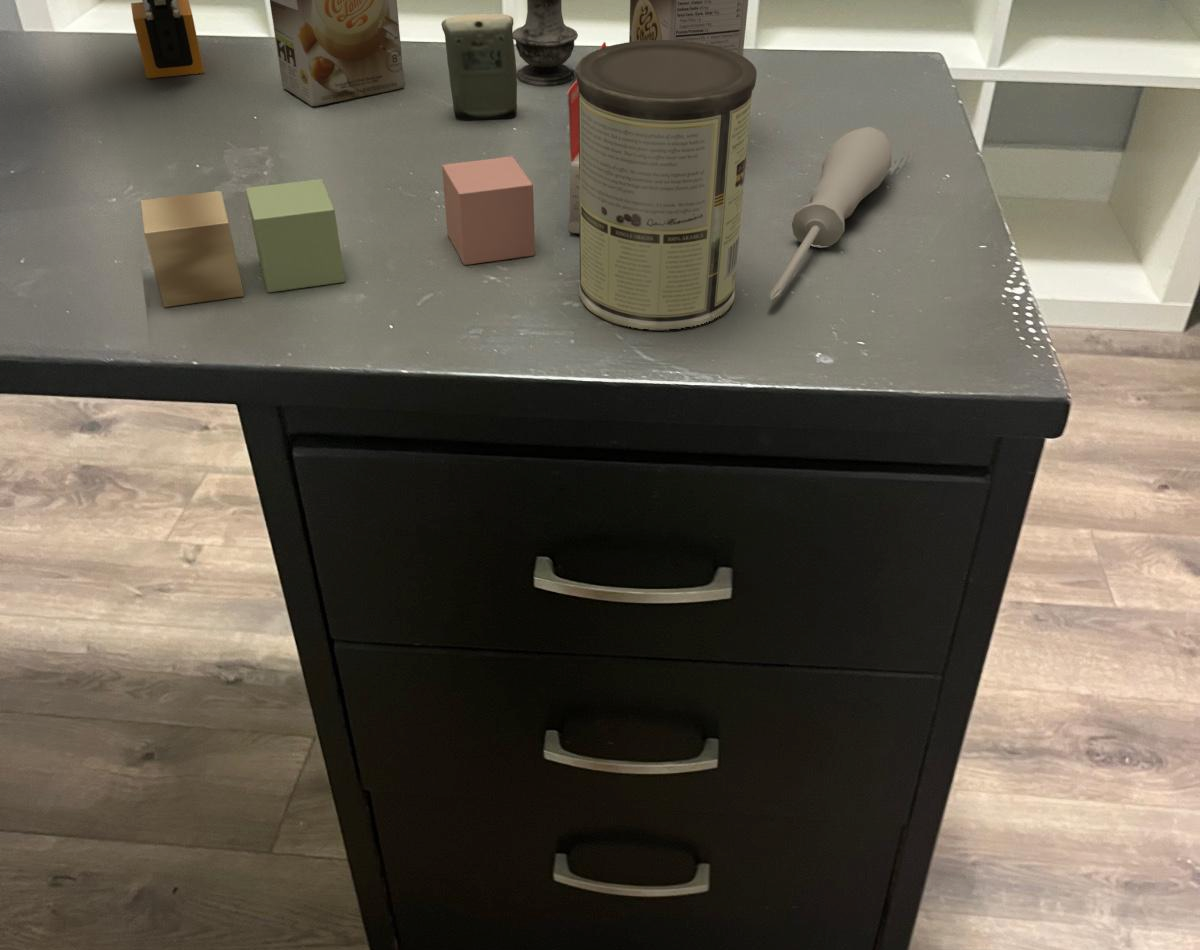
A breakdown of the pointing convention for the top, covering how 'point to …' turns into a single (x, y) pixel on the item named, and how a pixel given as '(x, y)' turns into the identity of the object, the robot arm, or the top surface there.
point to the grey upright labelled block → (481, 66)
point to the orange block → (145, 46)
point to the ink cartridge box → (574, 156)
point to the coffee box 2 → (690, 21)
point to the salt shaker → (545, 44)
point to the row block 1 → (191, 248)
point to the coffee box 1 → (337, 48)
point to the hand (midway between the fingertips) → (171, 48)
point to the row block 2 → (295, 235)
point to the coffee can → (661, 180)
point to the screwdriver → (838, 192)
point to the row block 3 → (489, 210)
